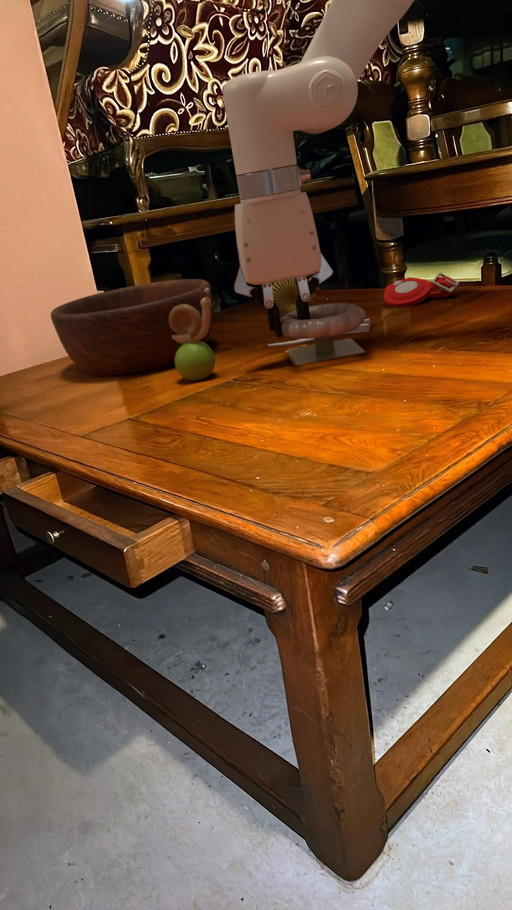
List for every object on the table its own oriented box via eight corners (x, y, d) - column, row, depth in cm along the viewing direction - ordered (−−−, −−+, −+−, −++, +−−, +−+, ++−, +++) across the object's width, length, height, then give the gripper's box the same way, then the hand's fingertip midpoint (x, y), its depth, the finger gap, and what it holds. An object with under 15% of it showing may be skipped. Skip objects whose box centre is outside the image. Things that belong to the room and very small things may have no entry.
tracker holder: (392, 304, 114) (371, 283, 122) (398, 327, 116) (377, 305, 124) (461, 274, 113) (435, 255, 121) (465, 298, 116) (439, 277, 124)
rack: (351, 346, 98) (347, 309, 96) (366, 360, 90) (362, 321, 88) (289, 357, 98) (283, 321, 96) (298, 373, 89) (292, 334, 87)
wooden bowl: (62, 395, 98) (43, 324, 95) (70, 359, 121) (54, 300, 118) (233, 359, 102) (221, 289, 98) (209, 330, 125) (198, 272, 121)
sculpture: (272, 326, 119) (265, 279, 116) (272, 321, 123) (265, 276, 120) (319, 319, 118) (312, 271, 115) (317, 314, 122) (311, 268, 119)
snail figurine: (220, 383, 91) (203, 291, 86) (174, 388, 92) (155, 298, 88) (229, 371, 96) (213, 284, 91) (185, 376, 97) (167, 290, 93)
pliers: (278, 324, 113) (371, 314, 109) (280, 334, 113) (372, 324, 109) (266, 339, 104) (366, 329, 100) (267, 350, 104) (367, 339, 100)
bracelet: (353, 314, 97) (352, 297, 97) (374, 330, 87) (373, 311, 86) (275, 328, 97) (273, 311, 96) (287, 345, 87) (284, 327, 86)
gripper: (327, 175, 89) (345, 317, 96) (203, 198, 88) (229, 338, 95) (339, 174, 82) (357, 327, 89) (204, 199, 81) (232, 350, 88)
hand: (291, 331), depth 92 cm, fingers closed on bracelet, 2 cm apart
